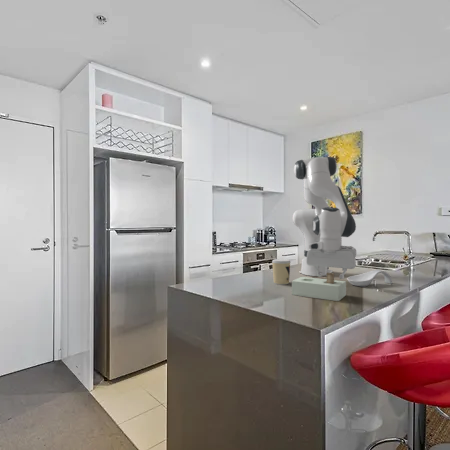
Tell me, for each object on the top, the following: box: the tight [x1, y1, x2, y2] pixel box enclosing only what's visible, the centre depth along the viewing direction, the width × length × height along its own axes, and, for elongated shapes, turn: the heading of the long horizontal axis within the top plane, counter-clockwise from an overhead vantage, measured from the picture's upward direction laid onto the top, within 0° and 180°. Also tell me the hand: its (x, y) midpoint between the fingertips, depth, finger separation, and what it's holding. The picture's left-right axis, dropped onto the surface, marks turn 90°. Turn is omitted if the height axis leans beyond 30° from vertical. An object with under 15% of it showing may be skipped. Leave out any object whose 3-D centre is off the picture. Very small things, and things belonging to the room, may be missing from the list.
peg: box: [326, 272, 335, 284], centre depth 134 cm, size 3×3×10 cm
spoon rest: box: [346, 269, 393, 288], centre depth 158 cm, size 24×12×7 cm, turn 106°
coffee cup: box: [271, 258, 291, 286], centre depth 162 cm, size 9×9×12 cm
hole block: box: [291, 276, 347, 302], centre depth 137 cm, size 12×20×6 cm, turn 55°
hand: (330, 277), depth 134 cm, fingers open, 8 cm apart
